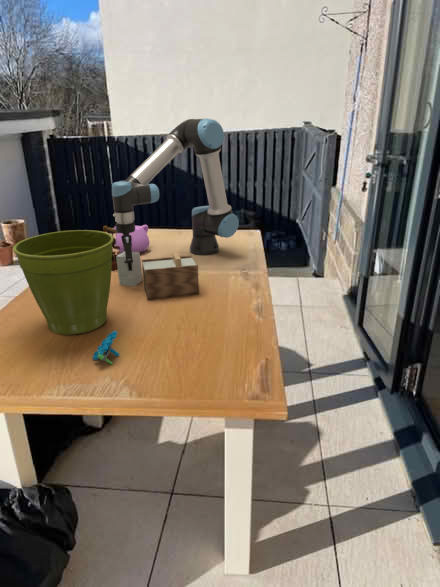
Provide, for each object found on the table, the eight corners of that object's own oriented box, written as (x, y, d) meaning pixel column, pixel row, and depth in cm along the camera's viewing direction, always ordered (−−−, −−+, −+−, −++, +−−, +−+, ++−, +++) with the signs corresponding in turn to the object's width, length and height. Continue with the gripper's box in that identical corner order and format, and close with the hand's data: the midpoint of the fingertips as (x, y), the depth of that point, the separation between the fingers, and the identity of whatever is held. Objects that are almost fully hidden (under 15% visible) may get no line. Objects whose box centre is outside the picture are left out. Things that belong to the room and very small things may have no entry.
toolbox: (192, 282, 178) (191, 255, 173) (198, 294, 166) (197, 265, 161) (144, 287, 173) (142, 259, 168) (147, 299, 161) (145, 270, 157)
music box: (126, 263, 203) (121, 222, 193) (122, 272, 193) (117, 230, 184) (94, 263, 202) (88, 223, 193) (89, 273, 192) (82, 231, 183)
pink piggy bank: (133, 243, 234) (130, 216, 228) (159, 249, 223) (157, 221, 218) (105, 252, 220) (102, 223, 214) (132, 259, 209) (129, 229, 203)
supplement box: (142, 280, 181) (140, 252, 176) (134, 286, 174) (131, 257, 169) (127, 278, 183) (124, 250, 178) (118, 284, 176) (115, 255, 172)
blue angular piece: (97, 342, 128) (117, 323, 124) (113, 353, 130) (133, 335, 126) (85, 366, 118) (105, 346, 114) (102, 377, 120) (123, 359, 116)
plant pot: (116, 300, 161) (107, 226, 150) (128, 335, 135) (119, 249, 124) (32, 312, 152) (16, 234, 141) (28, 352, 126) (8, 260, 115)
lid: (192, 260, 173) (191, 250, 171) (197, 268, 163) (197, 258, 161) (142, 264, 168) (141, 254, 166) (145, 273, 158) (144, 263, 157)
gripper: (114, 216, 179) (119, 263, 187) (116, 230, 156) (122, 283, 165) (132, 215, 181) (136, 262, 189) (136, 228, 158) (141, 281, 166)
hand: (129, 272), depth 177 cm, fingers open, 13 cm apart
